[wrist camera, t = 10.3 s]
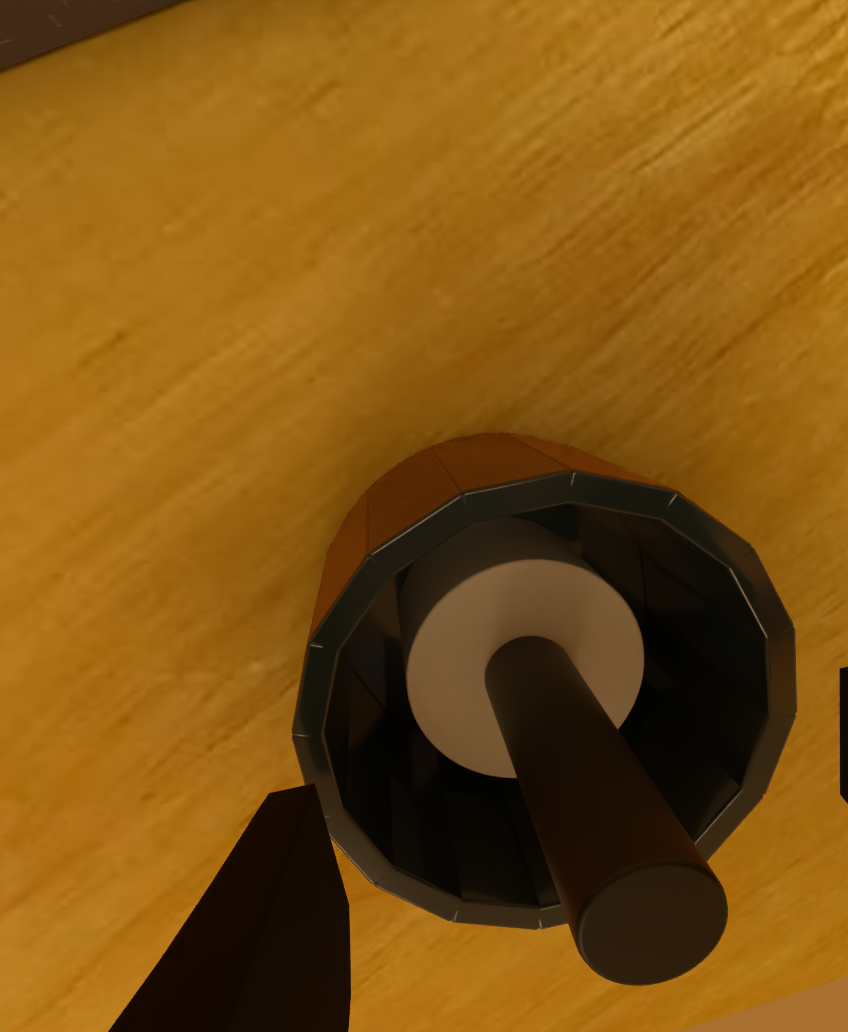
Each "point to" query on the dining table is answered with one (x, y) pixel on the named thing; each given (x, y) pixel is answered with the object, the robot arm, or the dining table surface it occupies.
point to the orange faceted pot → (647, 729)
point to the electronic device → (60, 23)
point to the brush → (559, 736)
